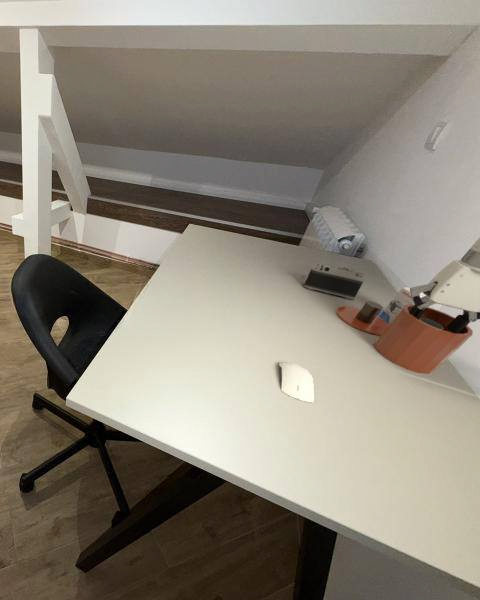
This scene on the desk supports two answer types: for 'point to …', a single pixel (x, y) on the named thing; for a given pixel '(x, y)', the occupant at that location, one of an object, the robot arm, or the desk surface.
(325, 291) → the camera
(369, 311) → the lid
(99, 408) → the desk surface
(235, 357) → the desk surface
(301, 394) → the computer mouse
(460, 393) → the desk surface
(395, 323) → the pot
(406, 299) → the ink box
